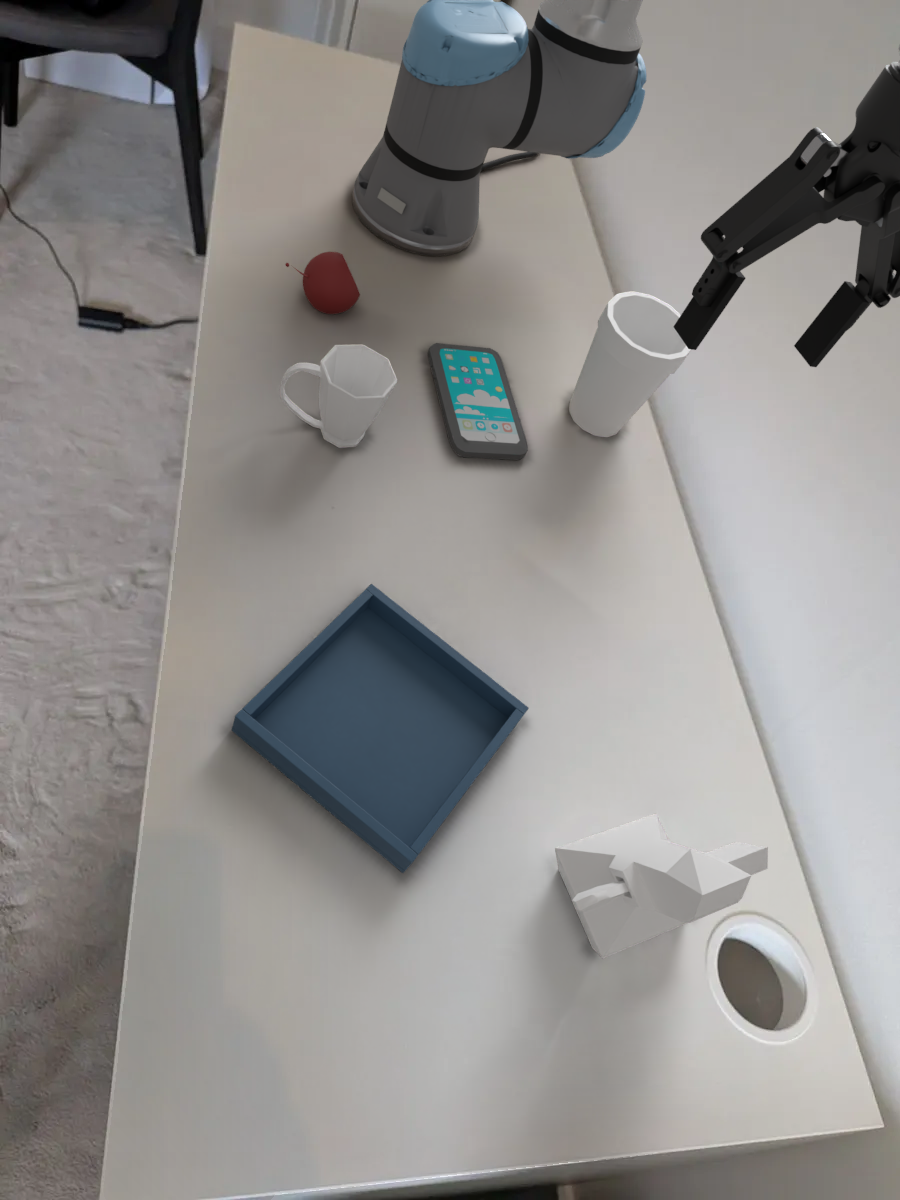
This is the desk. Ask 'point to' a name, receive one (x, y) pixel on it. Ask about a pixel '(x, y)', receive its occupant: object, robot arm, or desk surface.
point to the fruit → (329, 283)
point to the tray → (381, 724)
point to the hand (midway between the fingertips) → (746, 348)
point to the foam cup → (626, 362)
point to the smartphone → (477, 402)
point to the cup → (346, 392)
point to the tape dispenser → (650, 882)
